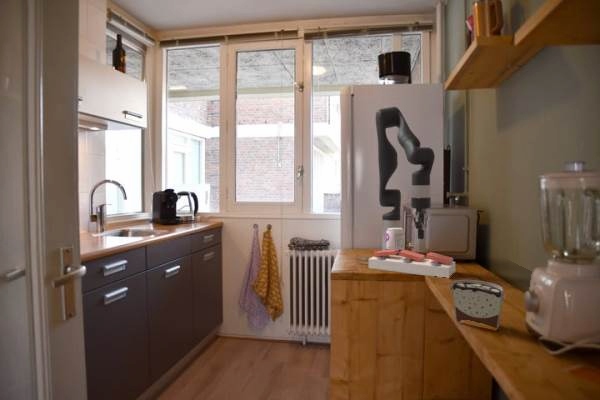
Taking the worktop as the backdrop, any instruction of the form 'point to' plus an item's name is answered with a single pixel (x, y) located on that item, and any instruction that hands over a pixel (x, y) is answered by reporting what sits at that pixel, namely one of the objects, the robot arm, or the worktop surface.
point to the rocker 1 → (386, 252)
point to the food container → (477, 301)
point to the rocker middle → (411, 255)
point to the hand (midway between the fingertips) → (421, 238)
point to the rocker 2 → (439, 258)
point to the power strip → (411, 266)
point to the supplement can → (395, 239)
